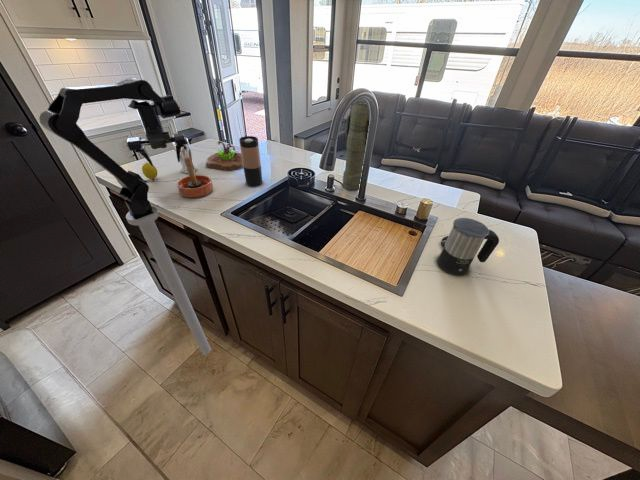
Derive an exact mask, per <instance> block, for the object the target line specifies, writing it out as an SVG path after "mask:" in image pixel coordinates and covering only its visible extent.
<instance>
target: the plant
mask: <svg viewBox="0 0 640 480" xmlns="http://www.w3.org/2000/svg"><path fill="white" fill-rule="evenodd" d="M216 144H217V145H221V144H222V146H223V148H222V149H221V150H219V149H216V151H217V152H215V153H214V154H212V155H210V156H208V157H207V158H206V162H205V166H206V168H208V169H215V170H222V171H233V170H240V169H244V168H243V162H242V155H241V152H237V151H236V150H237V149H236V147H235V146H234V145H232V143H229V142H228V143H227V144H225V143H224V142H223V141H221V140H219V141H217V142H216ZM232 150H233V151H232Z"/></svg>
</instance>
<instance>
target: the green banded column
mask: <svg viewBox="0 0 640 480" xmlns="http://www.w3.org/2000/svg"><path fill="white" fill-rule="evenodd" d="M368 126H369V127H370V124H369V108H368V105H367V104H366V103H365V101H358V102H355V103H354V104H353V107H352V110H351V113H350V114H348V116H347V117H346V126H345V140H344V141H346V146H345V148H346V158H345V167H344V170H343V175H342V188H343V189H345V190H347V191H349V192H356V191H359V190H360V189H359V184H360V179H361V173H362V166H363V167H364V165H363V159H364V153H365V154H366V152H365V145H366V139H367V133H369V131H368V129H369V127H368ZM364 160H365V159H364Z"/></svg>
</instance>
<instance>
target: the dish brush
mask: <svg viewBox="0 0 640 480" xmlns="http://www.w3.org/2000/svg"><path fill="white" fill-rule="evenodd" d="M184 160H185V163H186V166H187V170H188V173H187V174H188V176H190V180H191V182H189V183H188V186H189V189H190V188H198V187H202V185H201V182H200V181H197V180H196V176H195V175H196V173H195V172H194V169H193V166H192V162H191V159H190V157H184Z"/></svg>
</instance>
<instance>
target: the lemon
mask: <svg viewBox="0 0 640 480" xmlns="http://www.w3.org/2000/svg"><path fill="white" fill-rule="evenodd" d="M141 171H142V174H143V176H144V177H146V178H147V179H149V180H153V181H154V180H155V179H156V178H157V177H158V169H157V168H156V166H155V165H154V164H153V166H151V164H150V163H149V162H148V161H147V162H144V164H143V165H142V166H141Z"/></svg>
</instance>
